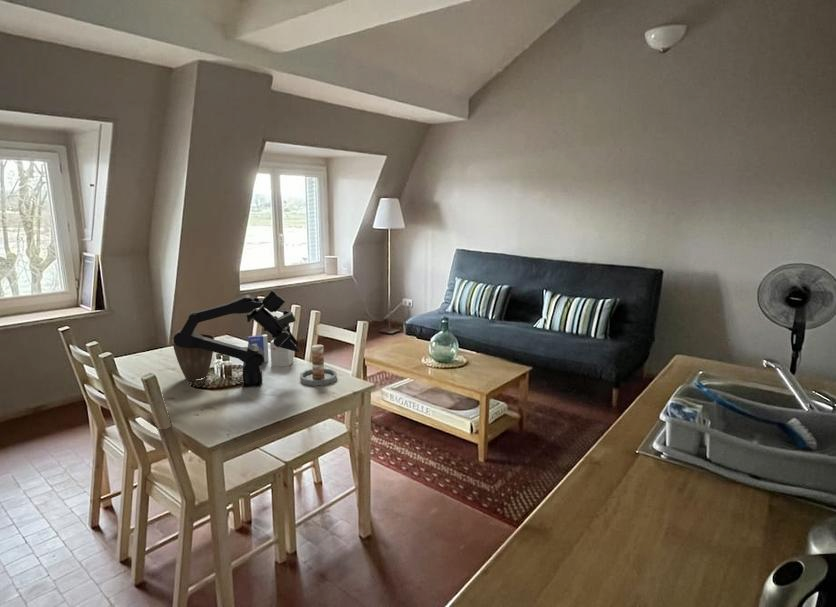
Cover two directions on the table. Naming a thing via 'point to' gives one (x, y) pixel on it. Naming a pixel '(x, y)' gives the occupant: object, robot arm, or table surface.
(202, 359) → the plant pot
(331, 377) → the round tray
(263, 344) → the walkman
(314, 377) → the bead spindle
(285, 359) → the small box
